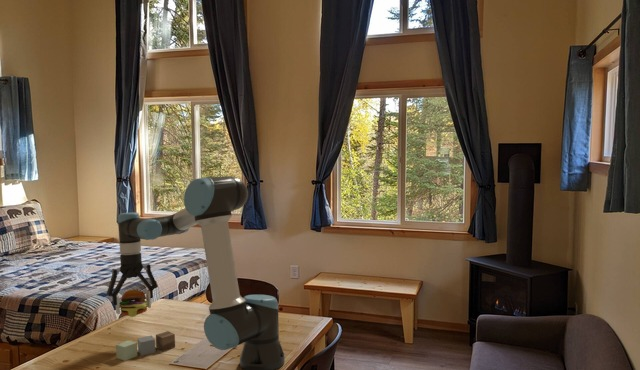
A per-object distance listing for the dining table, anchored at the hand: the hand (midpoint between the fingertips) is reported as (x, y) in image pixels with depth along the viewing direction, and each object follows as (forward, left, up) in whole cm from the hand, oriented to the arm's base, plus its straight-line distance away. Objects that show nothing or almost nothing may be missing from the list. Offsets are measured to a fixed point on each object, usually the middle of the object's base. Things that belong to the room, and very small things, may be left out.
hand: (133, 310), depth 185 cm
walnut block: (-12, -8, -13) cm, 19 cm away
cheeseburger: (0, 0, -1) cm, 1 cm away
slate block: (-12, -1, -13) cm, 18 cm away
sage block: (-12, +6, -13) cm, 19 cm away
